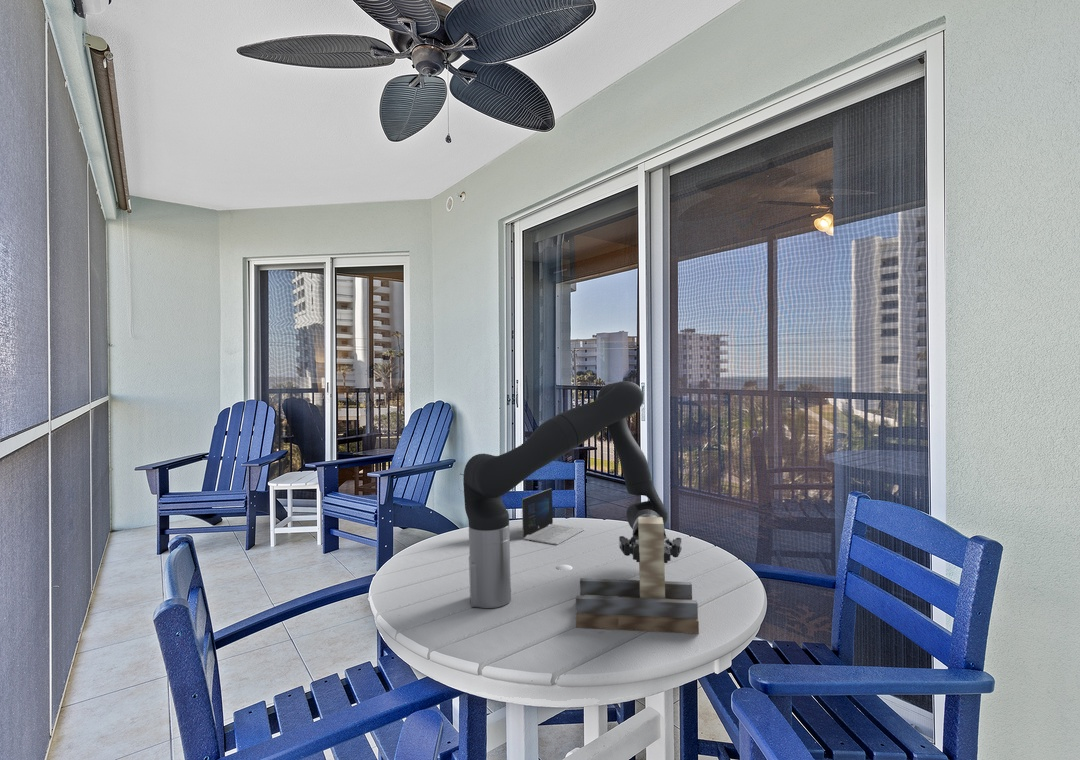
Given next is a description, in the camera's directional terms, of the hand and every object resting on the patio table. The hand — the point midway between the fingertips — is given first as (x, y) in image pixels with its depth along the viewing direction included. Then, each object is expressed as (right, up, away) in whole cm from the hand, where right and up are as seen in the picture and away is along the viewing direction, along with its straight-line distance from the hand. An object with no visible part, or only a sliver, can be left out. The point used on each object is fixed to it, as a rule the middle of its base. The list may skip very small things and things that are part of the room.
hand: (651, 557), depth 110 cm
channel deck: (-3, -13, +3) cm, 14 cm away
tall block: (+1, -9, +3) cm, 9 cm away
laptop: (-18, -14, +63) cm, 67 cm away
